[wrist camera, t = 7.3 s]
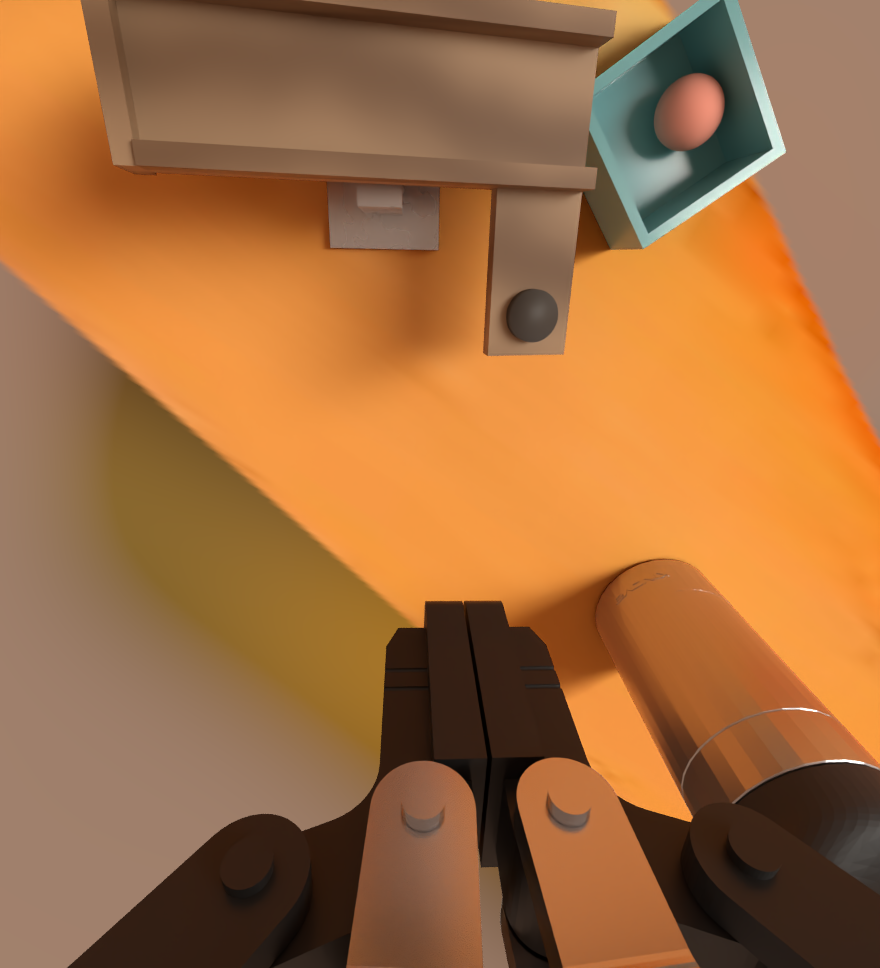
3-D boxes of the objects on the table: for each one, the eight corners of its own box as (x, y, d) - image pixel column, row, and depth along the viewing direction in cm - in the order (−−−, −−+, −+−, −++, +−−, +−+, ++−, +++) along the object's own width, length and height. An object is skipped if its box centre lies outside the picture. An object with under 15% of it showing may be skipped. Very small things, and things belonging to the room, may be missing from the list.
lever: (550, 349, 28) (574, 358, 26) (168, 355, 24) (151, 367, 22) (583, 37, 23) (616, 11, 20) (99, -20, 19) (66, -61, 16)
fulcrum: (437, 250, 30) (449, 249, 22) (331, 247, 30) (305, 246, 22) (442, 3, 26) (458, -105, 18) (317, -4, 25) (279, -117, 18)
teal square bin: (731, 166, 29) (786, 152, 25) (610, 249, 31) (643, 249, 26) (678, 20, 27) (730, -24, 22) (547, 118, 28) (573, 95, 24)
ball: (641, 161, 28) (702, 167, 28) (665, 120, 25) (733, 126, 25) (648, 101, 28) (709, 107, 28) (673, 52, 25) (741, 58, 25)
